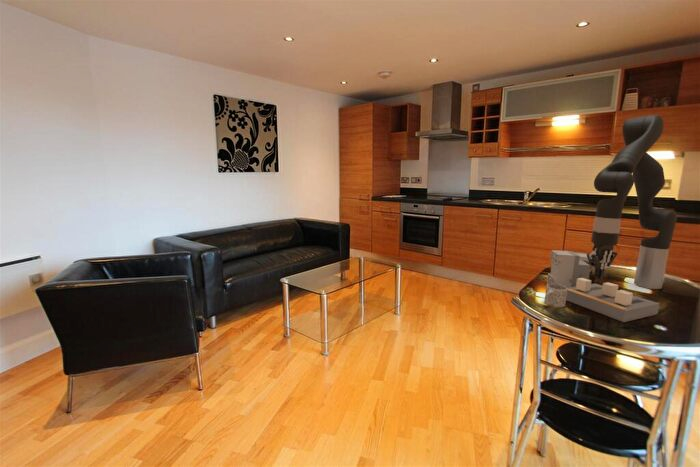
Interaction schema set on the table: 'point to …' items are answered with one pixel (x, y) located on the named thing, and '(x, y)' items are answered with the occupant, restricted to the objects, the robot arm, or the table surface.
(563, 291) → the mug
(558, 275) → the circuit breaker
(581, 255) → the disposable coffee cup
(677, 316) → the table surface
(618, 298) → the handle
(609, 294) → the handle
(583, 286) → the handle
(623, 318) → the slider control panel
